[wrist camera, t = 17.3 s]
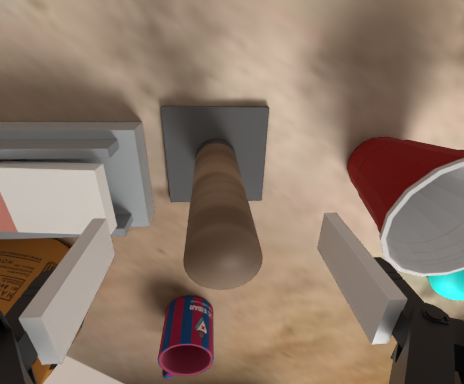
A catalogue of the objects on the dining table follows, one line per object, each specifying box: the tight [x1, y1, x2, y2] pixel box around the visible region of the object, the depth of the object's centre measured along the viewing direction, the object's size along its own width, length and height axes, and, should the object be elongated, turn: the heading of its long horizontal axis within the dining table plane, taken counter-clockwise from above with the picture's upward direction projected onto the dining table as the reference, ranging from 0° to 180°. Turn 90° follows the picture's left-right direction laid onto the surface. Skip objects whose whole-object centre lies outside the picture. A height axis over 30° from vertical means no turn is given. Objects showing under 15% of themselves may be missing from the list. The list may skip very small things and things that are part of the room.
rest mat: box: [161, 106, 269, 202], centre depth 27 cm, size 10×10×1 cm
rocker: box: [0, 161, 117, 235], centre depth 22 cm, size 16×6×1 cm, turn 89°
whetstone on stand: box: [0, 122, 155, 239], centre depth 24 cm, size 10×20×6 cm, turn 89°
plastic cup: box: [348, 137, 464, 276], centre depth 23 cm, size 11×11×12 cm
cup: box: [158, 296, 214, 379], centre depth 35 cm, size 7×10×7 cm
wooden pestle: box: [184, 138, 262, 290], centre depth 20 cm, size 4×4×15 cm
